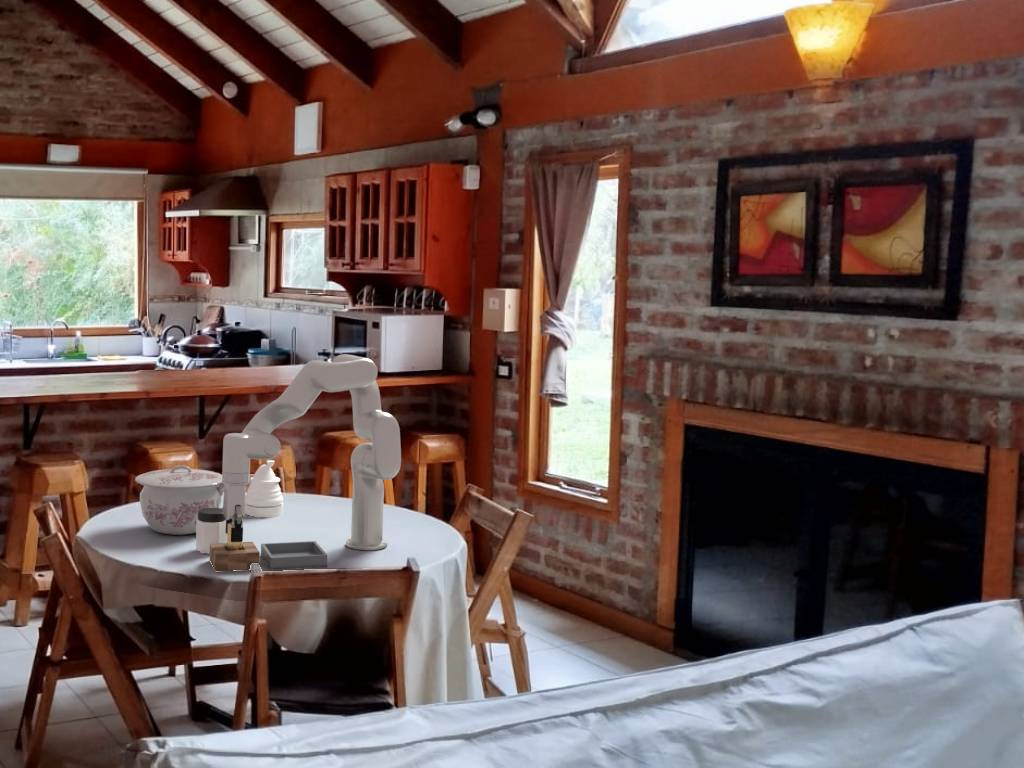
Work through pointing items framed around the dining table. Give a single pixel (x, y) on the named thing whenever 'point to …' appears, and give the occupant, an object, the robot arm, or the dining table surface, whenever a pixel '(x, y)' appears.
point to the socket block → (233, 557)
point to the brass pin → (232, 545)
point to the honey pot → (264, 494)
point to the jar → (210, 528)
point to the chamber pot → (178, 497)
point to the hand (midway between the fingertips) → (234, 537)
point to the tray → (293, 555)
